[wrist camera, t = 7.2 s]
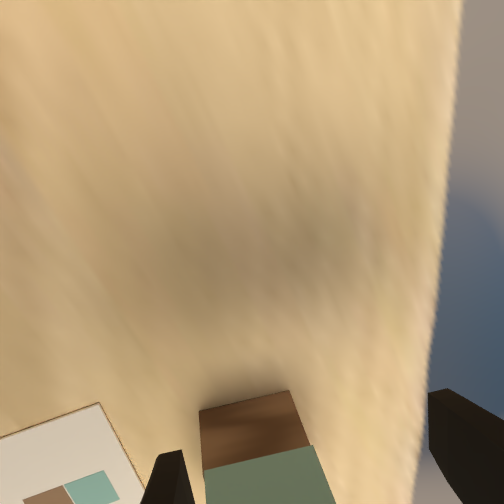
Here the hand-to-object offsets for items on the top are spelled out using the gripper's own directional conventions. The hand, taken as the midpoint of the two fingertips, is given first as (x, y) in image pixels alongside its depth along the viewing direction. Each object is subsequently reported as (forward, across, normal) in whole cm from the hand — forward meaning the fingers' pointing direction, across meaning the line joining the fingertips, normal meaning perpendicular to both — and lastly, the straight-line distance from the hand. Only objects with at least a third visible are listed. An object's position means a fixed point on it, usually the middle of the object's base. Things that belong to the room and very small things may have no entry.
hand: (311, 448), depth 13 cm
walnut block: (+11, +1, +8) cm, 14 cm away
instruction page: (+10, +11, +10) cm, 18 cm away
